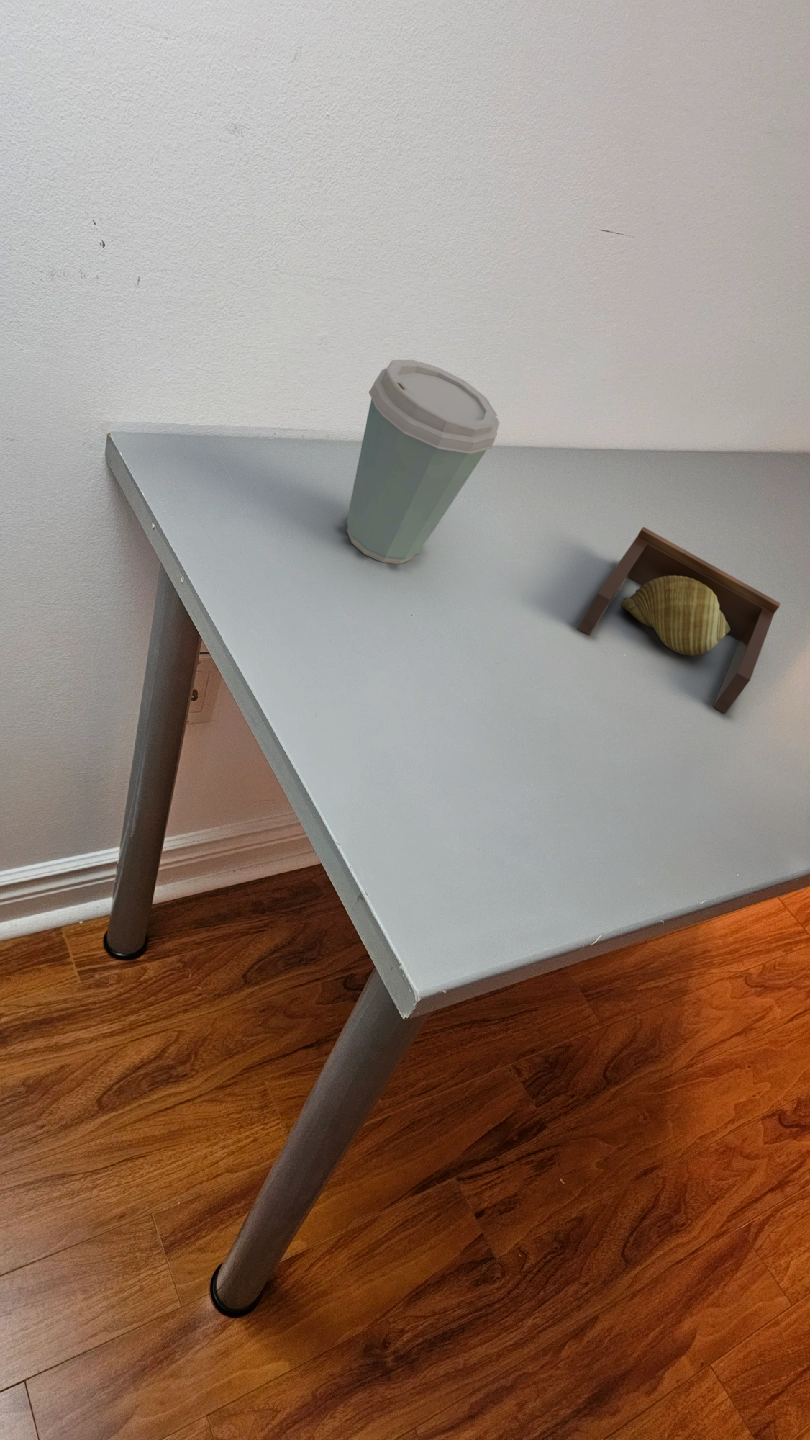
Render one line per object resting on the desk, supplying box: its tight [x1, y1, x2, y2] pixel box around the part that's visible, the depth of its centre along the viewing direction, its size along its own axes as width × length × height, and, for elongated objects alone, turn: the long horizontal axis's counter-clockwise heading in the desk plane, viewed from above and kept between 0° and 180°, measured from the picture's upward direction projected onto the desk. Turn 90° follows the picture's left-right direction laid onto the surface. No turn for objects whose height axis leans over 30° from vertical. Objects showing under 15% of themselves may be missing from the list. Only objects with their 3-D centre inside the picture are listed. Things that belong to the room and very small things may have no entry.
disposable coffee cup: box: [345, 359, 500, 565], centre depth 86 cm, size 11×11×15 cm
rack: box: [577, 526, 781, 714], centre depth 94 cm, size 14×14×5 cm
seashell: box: [620, 576, 730, 657], centre depth 95 cm, size 10×7×8 cm
